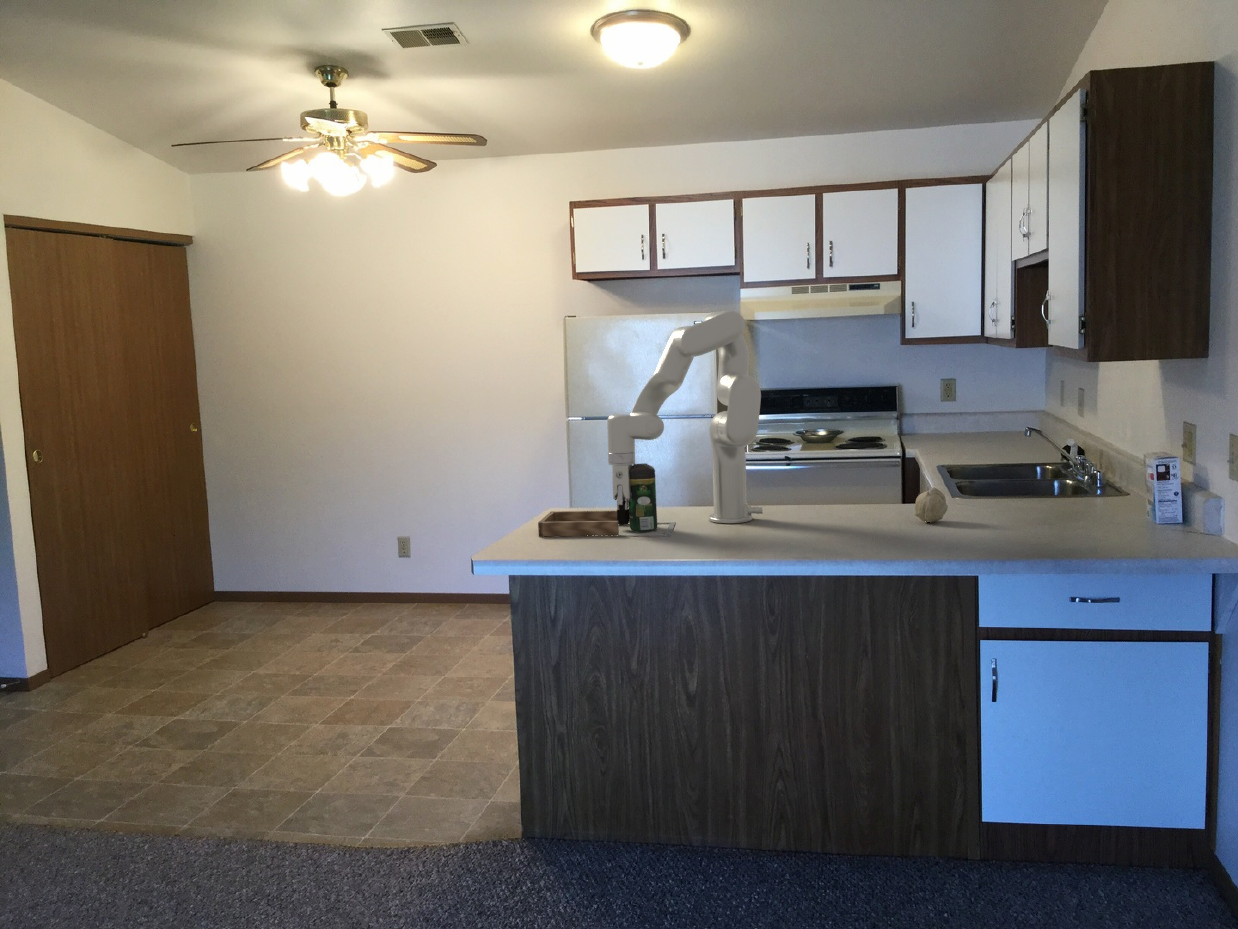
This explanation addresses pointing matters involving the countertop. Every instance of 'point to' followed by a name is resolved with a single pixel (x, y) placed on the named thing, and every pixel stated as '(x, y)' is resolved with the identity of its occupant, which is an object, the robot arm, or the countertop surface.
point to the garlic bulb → (931, 505)
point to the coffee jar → (642, 498)
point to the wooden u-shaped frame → (579, 523)
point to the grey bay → (668, 533)
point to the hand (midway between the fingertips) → (623, 523)
